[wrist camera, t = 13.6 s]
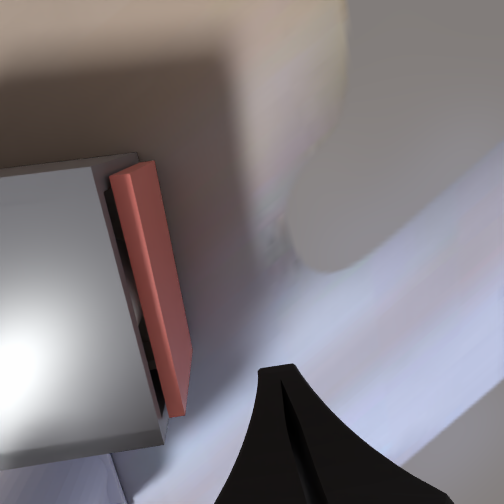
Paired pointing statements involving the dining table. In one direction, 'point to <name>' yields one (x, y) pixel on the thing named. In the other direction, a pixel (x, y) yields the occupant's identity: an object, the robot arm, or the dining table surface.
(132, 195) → the red drawer
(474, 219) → the dining table surface
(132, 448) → the housing
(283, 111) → the dining table surface
